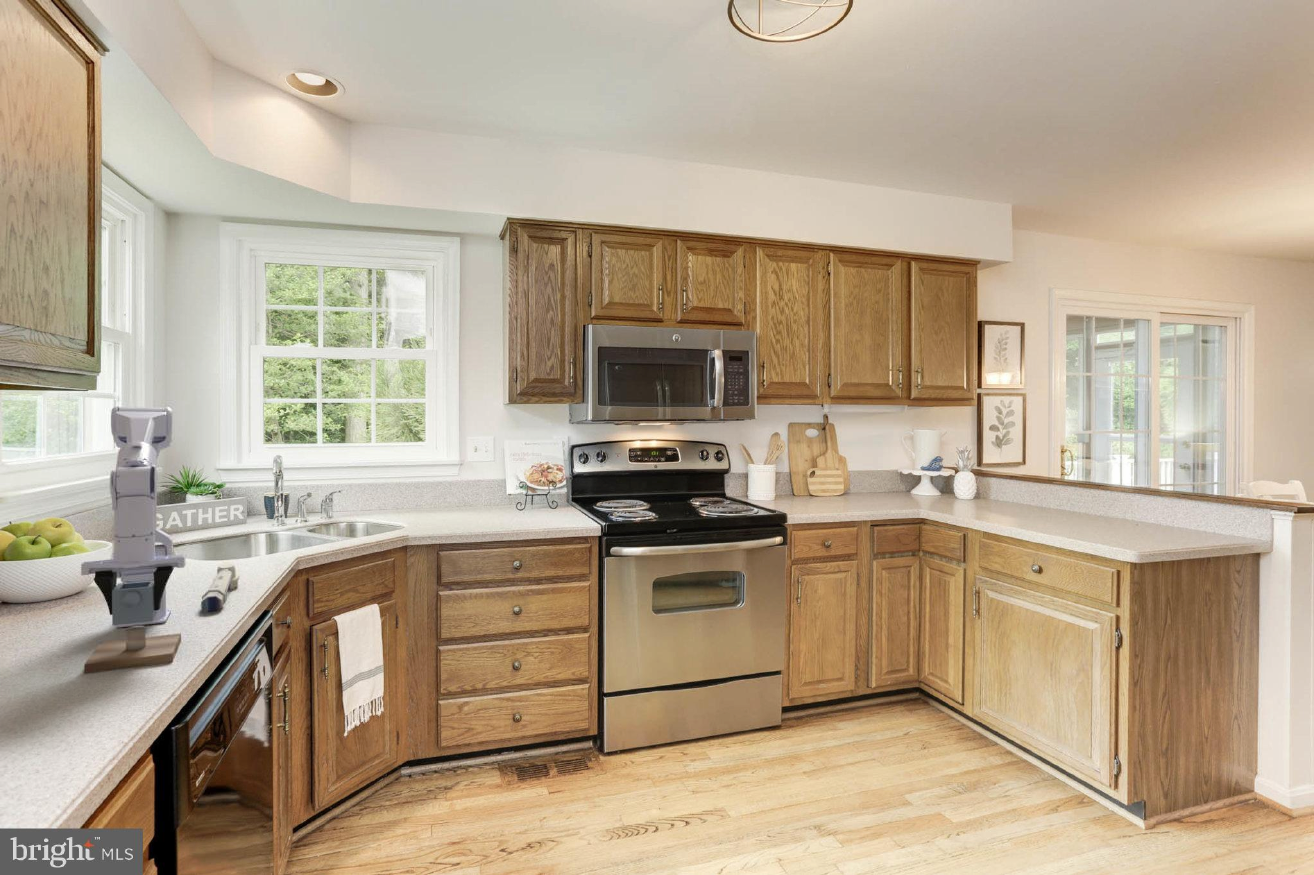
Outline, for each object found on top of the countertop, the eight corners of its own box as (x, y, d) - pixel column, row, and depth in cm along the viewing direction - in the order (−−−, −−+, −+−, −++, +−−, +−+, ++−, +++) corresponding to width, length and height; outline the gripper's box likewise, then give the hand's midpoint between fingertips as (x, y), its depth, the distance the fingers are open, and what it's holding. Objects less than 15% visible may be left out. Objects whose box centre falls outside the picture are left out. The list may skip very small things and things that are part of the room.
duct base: (100, 650, 124) (100, 623, 124) (181, 641, 130) (180, 614, 130) (84, 673, 114) (84, 643, 113) (172, 661, 119) (172, 633, 119)
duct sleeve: (118, 616, 123) (118, 583, 122) (157, 612, 125) (157, 580, 125) (109, 628, 116) (109, 593, 116) (150, 624, 119) (150, 589, 118)
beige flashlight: (196, 596, 147) (215, 557, 169) (197, 626, 148) (216, 583, 170) (225, 594, 149) (240, 556, 171) (226, 623, 150) (240, 581, 172)
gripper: (76, 541, 114) (77, 622, 114) (182, 535, 121) (182, 611, 121) (86, 534, 120) (87, 611, 121) (186, 529, 127) (187, 601, 128)
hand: (135, 611), depth 121 cm, fingers closed on duct sleeve, 6 cm apart
